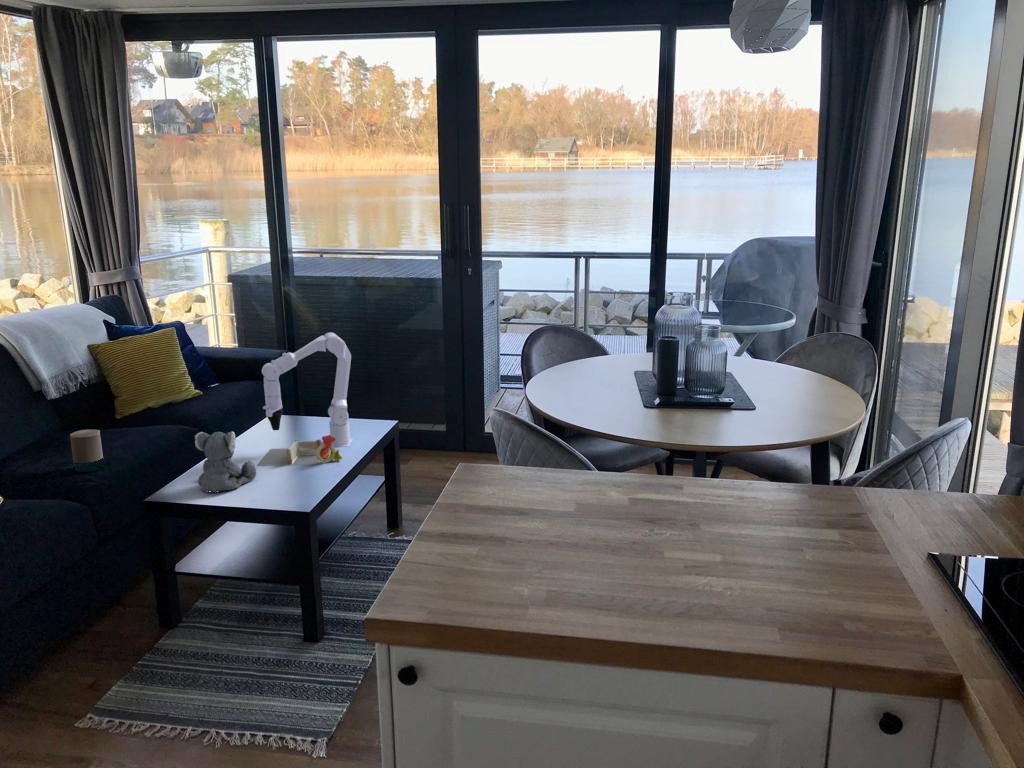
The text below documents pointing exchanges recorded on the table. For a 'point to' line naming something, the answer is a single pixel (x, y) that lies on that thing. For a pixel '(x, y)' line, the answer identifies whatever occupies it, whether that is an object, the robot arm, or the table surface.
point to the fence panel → (292, 452)
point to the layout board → (280, 458)
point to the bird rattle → (324, 453)
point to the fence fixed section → (308, 447)
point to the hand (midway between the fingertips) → (276, 429)
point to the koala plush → (222, 463)
